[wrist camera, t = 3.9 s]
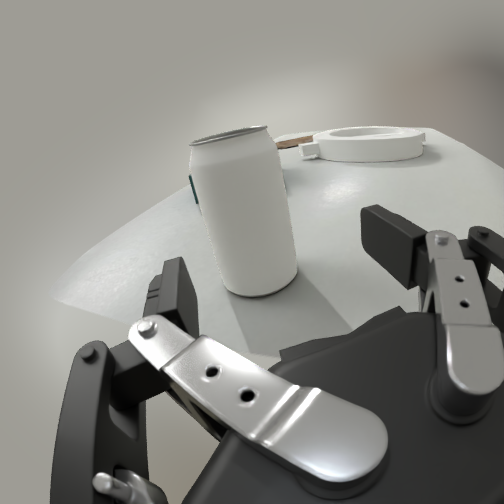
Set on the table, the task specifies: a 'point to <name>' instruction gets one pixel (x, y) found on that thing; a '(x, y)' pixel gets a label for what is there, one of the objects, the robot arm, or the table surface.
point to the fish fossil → (294, 142)
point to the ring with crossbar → (365, 144)
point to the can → (245, 209)
